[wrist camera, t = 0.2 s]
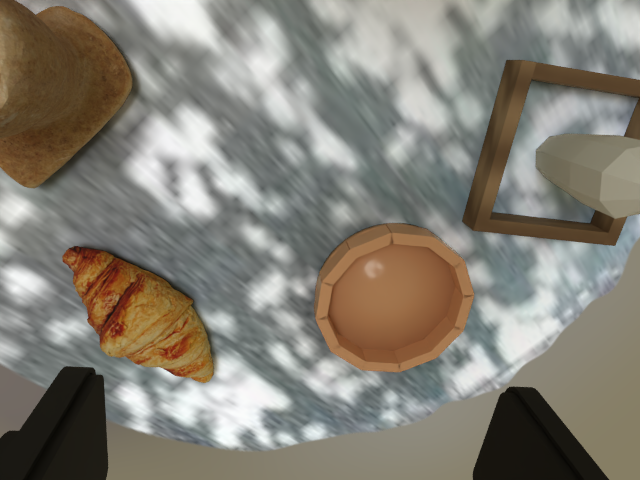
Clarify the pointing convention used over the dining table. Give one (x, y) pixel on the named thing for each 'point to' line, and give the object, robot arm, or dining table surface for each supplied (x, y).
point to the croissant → (140, 315)
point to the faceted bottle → (595, 170)
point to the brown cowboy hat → (53, 88)
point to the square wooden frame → (501, 141)
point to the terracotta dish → (392, 297)
